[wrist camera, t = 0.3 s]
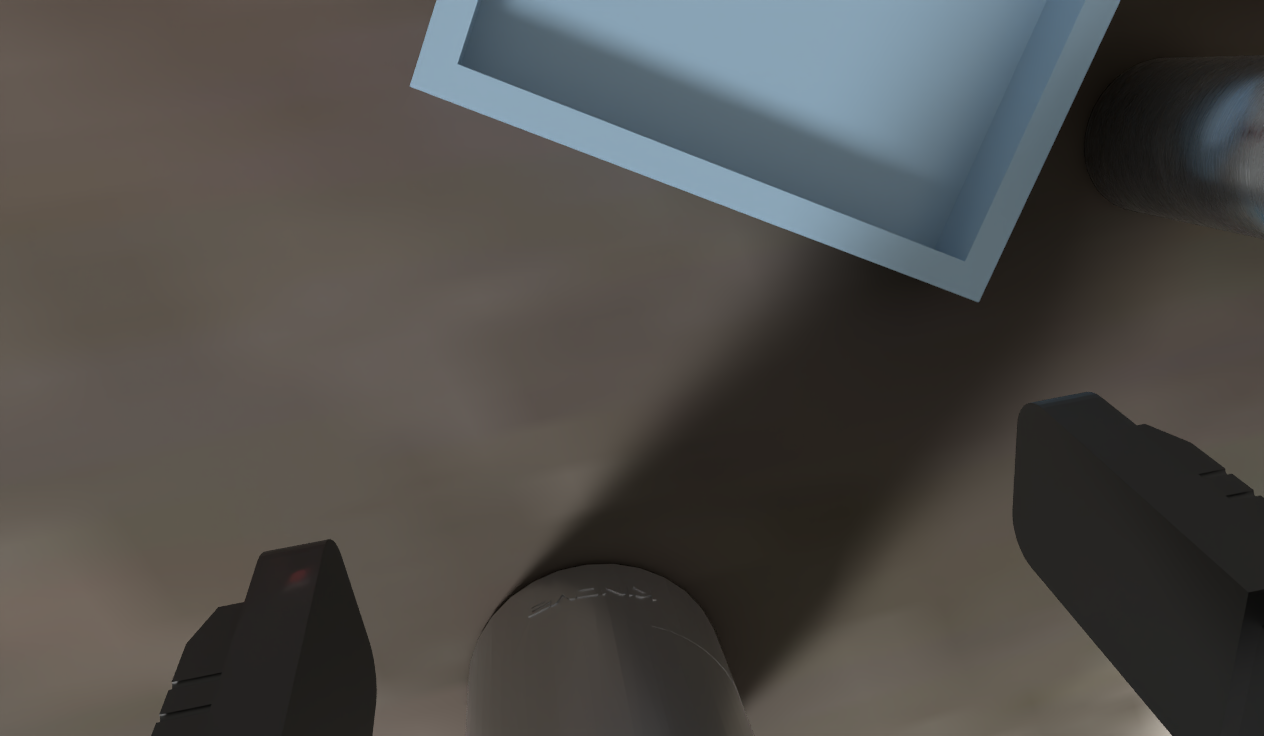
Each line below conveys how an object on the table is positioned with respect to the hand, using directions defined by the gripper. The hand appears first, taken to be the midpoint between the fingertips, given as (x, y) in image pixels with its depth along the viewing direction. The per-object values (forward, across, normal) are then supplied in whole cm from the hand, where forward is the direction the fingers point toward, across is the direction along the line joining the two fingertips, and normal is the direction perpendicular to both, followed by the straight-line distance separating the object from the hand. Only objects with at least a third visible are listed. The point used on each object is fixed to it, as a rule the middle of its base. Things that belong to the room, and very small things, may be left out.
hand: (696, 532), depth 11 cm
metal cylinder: (+21, +20, -3) cm, 29 cm away
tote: (+22, +8, +4) cm, 23 cm away
